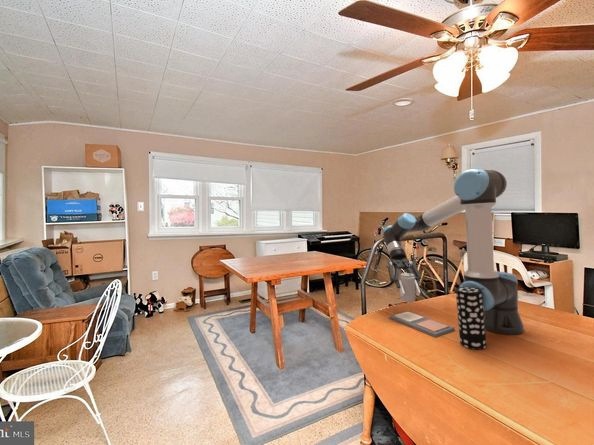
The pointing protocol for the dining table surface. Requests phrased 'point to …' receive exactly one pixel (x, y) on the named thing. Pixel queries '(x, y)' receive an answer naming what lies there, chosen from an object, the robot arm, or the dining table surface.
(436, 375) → the dining table surface
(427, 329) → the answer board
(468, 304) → the spotted tube
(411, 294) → the beverage can
